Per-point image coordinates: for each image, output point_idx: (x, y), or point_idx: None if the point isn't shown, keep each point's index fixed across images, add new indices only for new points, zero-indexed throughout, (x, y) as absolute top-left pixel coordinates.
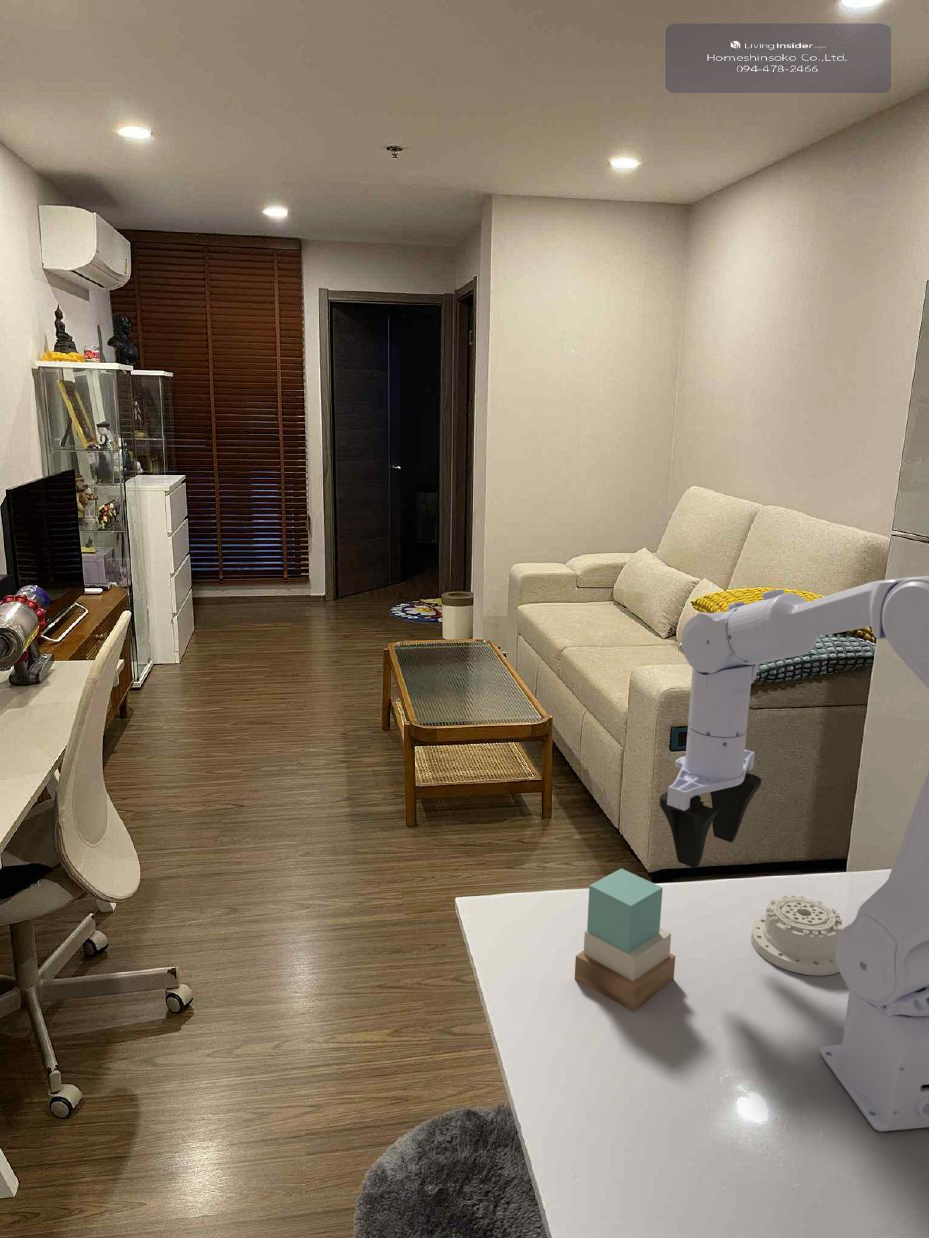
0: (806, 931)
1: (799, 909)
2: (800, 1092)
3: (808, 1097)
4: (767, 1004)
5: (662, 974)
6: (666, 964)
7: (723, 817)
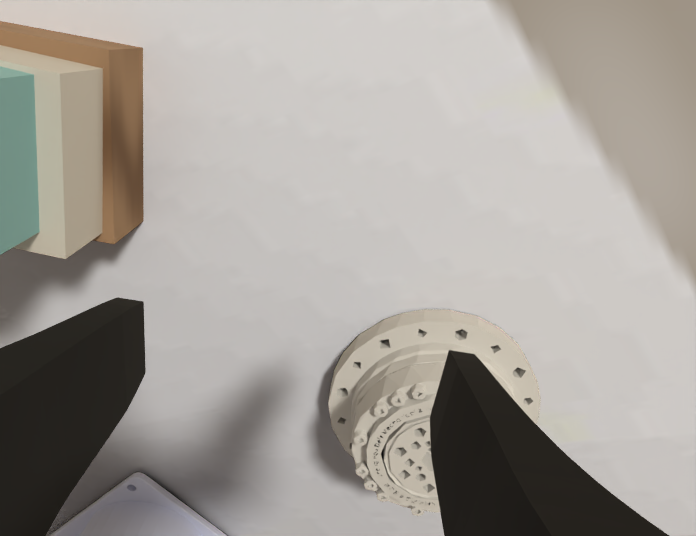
0: (364, 470)
1: None
2: None
3: None
4: (202, 386)
5: None
6: None
7: (461, 459)
